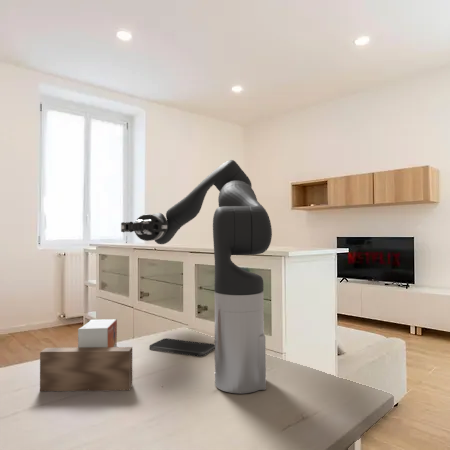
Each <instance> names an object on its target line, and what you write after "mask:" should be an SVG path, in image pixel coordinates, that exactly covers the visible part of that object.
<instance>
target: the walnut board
mask: <svg viewBox="0 0 450 450" xmlns="http://www.w3.org/2000/svg"><path fill="white" fill-rule="evenodd" d="M132 386H133V346H119V347H118V346H117V347H81V348H78V347H45V348H44V349H42V350H41V351H40V352H39V392H77V391H78V392H79V391H80V392H82V391H83V392H85V391H86V392H93V391H94V392H95V391H96V392H98V391H99V392H100V391H101V392H102V391H107V392H108V391H111V392H112V391H130V390H131V388H132Z"/></svg>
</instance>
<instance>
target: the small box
mask: <svg viewBox="0 0 450 450" xmlns="http://www.w3.org/2000/svg"><path fill="white" fill-rule="evenodd" d="M117 327H118V319H117V318H115V319H113V318H110V319H109V318H108V319H107V318H104V319H90V320H89V321H88V322H86V323H85V324H84V325H83V326H81V327H79V328H78V329H77V348H81V347H118V346H117V341H118V338H117V337H118V336H117V335H118V334H117V333H118V331H117V330H118V328H117Z"/></svg>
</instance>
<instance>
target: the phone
mask: <svg viewBox="0 0 450 450" xmlns="http://www.w3.org/2000/svg"><path fill="white" fill-rule="evenodd" d="M148 349H149V350H150V351H156V352H164V353H170V354H171V353H172V354H177V355H184V356H192V357H205V356H206V355H209V353H211V352H212V351H215V343H209V342H208V343H206V342H199V341H193V340H184V339H175V338H168V337H167V338H162V339H160V340H158V341H156V342H153V343H151V344H149V348H148Z"/></svg>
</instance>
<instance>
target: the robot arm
mask: <svg viewBox="0 0 450 450" xmlns="http://www.w3.org/2000/svg"><path fill="white" fill-rule="evenodd" d="M213 186H214V187H215V188H216V189H217V190H218V191H219V194H218V199H217V200H218V201H217V202H218V207H217V208H216V209H215V211H214V213H213V219H212V238H213V253H214V254H213V255H214V287H213V288H214V291H213V292H214V345H215V349H214V386H215V387H216V388H217V389H219V390H221V391H223V392H227V393H230V394H231V393H232V394H249V393H255V392H257V391H261V390H263V391H264V390H265V391H266V389H267V379H266V377H267V369H266V368H267V365H266V361H267V359H266V356H267V355H266V351H267V350H266V347H267V346H266V335H265V331H264V330H265V318H264V317H265V315H264V312H265V311H264V307H265V306H264V304H265V303H264V299H265V298H264V296H265V295H264V279H263V277H262V276H261V275H259V274H257V273H255V272H252V271H247V270H245V269H243V268H241V267H240V266H238V265H236V264H235V262H233V261H232V258H231V257H232V256H257V255H260V254H263V253H265V252H266V251H267V250H268V249H269V247H270V245H271V243H272V236H273V228H272V224H271V219H270V216H269V214H268V211H267V210H266V209H265V207H264V206H263V205H262V204H261V203H260V202H259V201H258V198H257V196H256V193H255V192H254V189H253V188H252V181H251V179H250V178H249V176H248V175H247V174H246V172H245V171H244V170H243V168H242V167H240V165H239V164H238V163H237V162H236V161H235V160H234V159H229V160H227V161H225V162H223V163H222V164H220V165H219V166H218V167H216V169H214V170H212V172H211V173H210V174H209V175H207V176H206V177H205V178H204V179H203V180H202V181H200V183H198V185H197V186H195V187H194V188H193V189H192V190H191V191H190V192H189V193H188V194H187V195H186V196H185V197H183V198H182V199H181V200H180V201H178V202H177V203H175V204H174V205H173V206H171V207H170V208H168V209H167V211H166V213H165V215H164V214H163V213H161V212H155V213H153V214H151V213H150V214H149V213H145V214H142V215H140V216H139V217H137V218H136V219H135V221H134V222H133V221H127V222H125V221H124V222H121V223H120V232H121V233H127V232H129V233H133V232H134V233H135V236H136V237H137V238H138V239H140V240H142V241H146V242H150V241H154V242H155V243H156V244H158V245H165V244H167V243H169V242H170V241H171V240H172V239H173V238H174V236H175V235H176V234H177V232H178V231H179V230H180V229H181V228H182V227H184V226H185V225H186V224H188V223H189V222H191V221H192V220H193V219H195V218H196V217H197V216H198V215H199V213H200V212H201V209H202V206H203V204H204V200H205V197H206V195H207V193H208V191H209V190H210V189H211V188H212V187H213Z"/></svg>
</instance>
